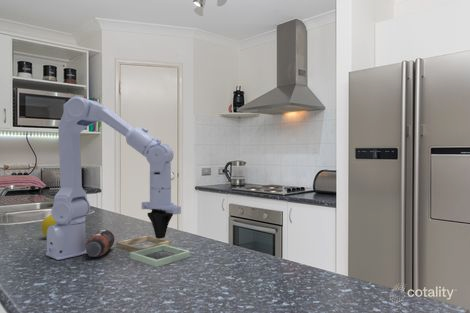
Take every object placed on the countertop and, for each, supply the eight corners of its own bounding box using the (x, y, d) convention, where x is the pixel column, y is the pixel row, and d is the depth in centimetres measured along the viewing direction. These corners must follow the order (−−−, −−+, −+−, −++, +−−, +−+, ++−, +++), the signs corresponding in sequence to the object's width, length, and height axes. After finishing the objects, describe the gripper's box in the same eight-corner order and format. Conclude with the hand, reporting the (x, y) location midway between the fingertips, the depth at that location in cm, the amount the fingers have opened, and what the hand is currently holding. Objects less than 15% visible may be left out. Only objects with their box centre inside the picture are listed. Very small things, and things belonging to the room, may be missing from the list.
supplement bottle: (99, 226, 104) (87, 234, 93) (118, 233, 104) (108, 242, 93) (91, 244, 104) (78, 255, 92) (110, 252, 104) (99, 263, 93)
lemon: (63, 237, 119) (63, 213, 119) (53, 241, 113) (53, 216, 113) (48, 236, 119) (48, 213, 119) (37, 240, 114) (37, 216, 114)
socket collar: (139, 254, 99) (139, 248, 99) (116, 247, 106) (116, 242, 106) (170, 245, 108) (170, 241, 108) (147, 239, 115) (147, 235, 115)
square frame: (156, 267, 87) (156, 261, 87) (129, 258, 95) (129, 252, 95) (190, 256, 96) (190, 251, 96) (163, 249, 104) (163, 244, 104)
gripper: (189, 188, 94) (189, 239, 94) (155, 185, 103) (155, 231, 103) (168, 190, 88) (168, 244, 88) (135, 187, 98) (135, 235, 98)
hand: (160, 237), depth 95 cm, fingers closed
